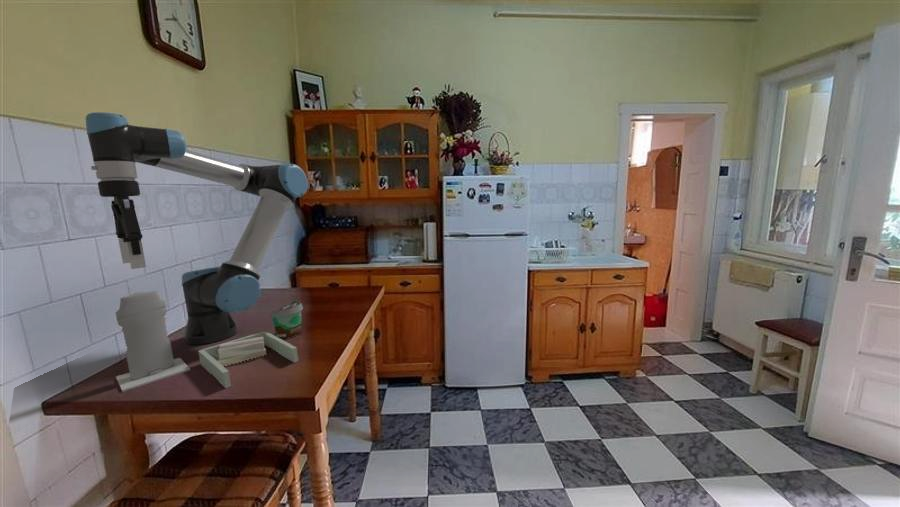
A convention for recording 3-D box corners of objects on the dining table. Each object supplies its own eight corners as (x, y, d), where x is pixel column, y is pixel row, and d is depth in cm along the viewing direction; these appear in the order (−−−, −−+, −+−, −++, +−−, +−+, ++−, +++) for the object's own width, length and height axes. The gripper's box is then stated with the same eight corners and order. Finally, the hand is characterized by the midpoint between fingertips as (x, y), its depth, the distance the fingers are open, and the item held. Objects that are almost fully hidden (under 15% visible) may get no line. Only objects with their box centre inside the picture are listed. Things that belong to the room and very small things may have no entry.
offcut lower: (216, 362, 106) (215, 354, 105) (262, 350, 113) (261, 343, 112) (218, 370, 101) (217, 361, 101) (266, 357, 108) (265, 349, 108)
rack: (200, 364, 104) (198, 350, 103) (267, 342, 117) (265, 330, 117) (225, 388, 90) (223, 372, 89) (298, 361, 103) (296, 347, 102)
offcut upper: (221, 352, 107) (220, 344, 106) (264, 344, 111) (263, 336, 111) (219, 359, 102) (218, 350, 102) (263, 350, 107) (262, 342, 106)
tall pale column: (132, 382, 94) (115, 298, 90) (125, 379, 96) (109, 297, 92) (179, 365, 103) (166, 288, 99) (172, 362, 105) (158, 286, 101)
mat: (116, 378, 98) (115, 376, 98) (180, 359, 108) (179, 357, 108) (122, 392, 90) (122, 390, 90) (190, 370, 100) (189, 368, 100)
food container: (291, 341, 117) (287, 311, 116) (274, 341, 119) (270, 311, 117) (312, 327, 129) (309, 299, 128) (297, 327, 130) (293, 299, 129)
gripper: (92, 182, 96) (108, 262, 100) (102, 177, 80) (121, 273, 83) (129, 182, 102) (143, 258, 105) (147, 177, 85) (163, 267, 89)
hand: (134, 265), depth 94 cm, fingers open, 13 cm apart
